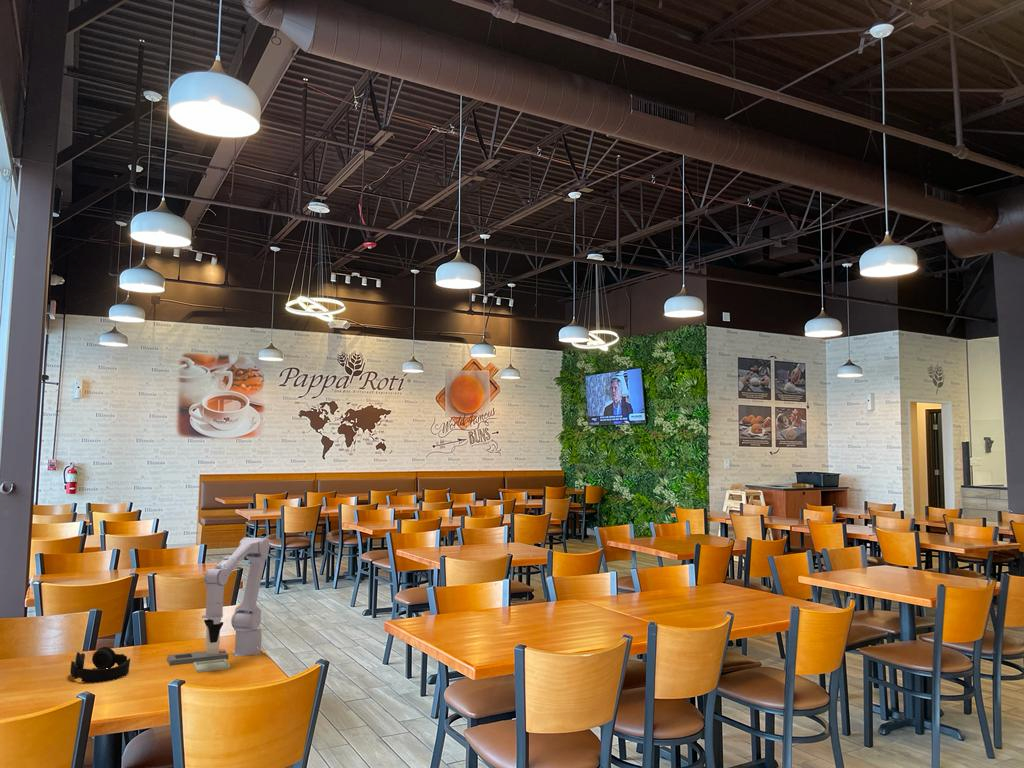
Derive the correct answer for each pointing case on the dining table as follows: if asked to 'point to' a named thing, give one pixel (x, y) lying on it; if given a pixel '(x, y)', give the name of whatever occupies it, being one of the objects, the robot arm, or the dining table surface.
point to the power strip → (198, 656)
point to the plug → (208, 643)
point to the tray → (211, 665)
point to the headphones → (100, 666)
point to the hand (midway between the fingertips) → (212, 640)
